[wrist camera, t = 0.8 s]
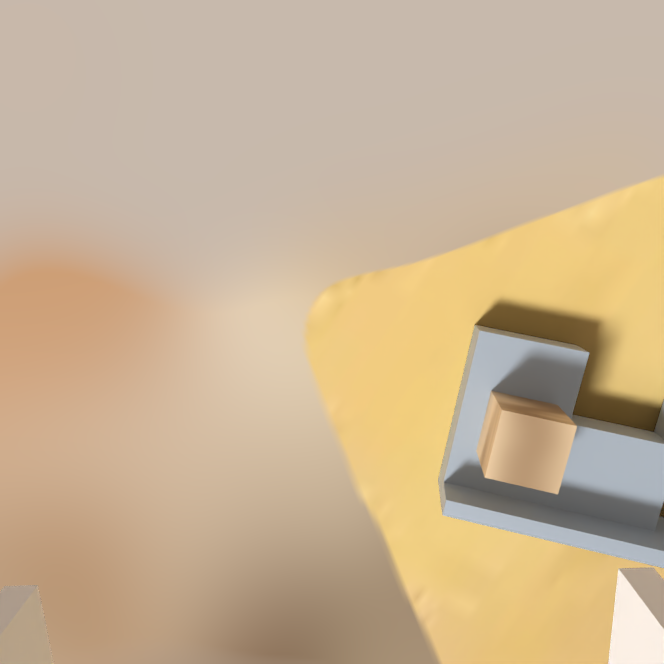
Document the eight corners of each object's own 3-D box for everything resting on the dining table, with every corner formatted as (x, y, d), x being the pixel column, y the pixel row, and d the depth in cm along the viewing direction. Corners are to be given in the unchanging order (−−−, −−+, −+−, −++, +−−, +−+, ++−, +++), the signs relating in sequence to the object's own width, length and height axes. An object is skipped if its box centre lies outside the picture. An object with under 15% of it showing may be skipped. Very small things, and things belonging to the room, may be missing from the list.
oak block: (557, 404, 33) (577, 426, 29) (540, 465, 34) (558, 494, 30) (491, 390, 34) (501, 409, 30) (476, 451, 34) (484, 477, 30)
